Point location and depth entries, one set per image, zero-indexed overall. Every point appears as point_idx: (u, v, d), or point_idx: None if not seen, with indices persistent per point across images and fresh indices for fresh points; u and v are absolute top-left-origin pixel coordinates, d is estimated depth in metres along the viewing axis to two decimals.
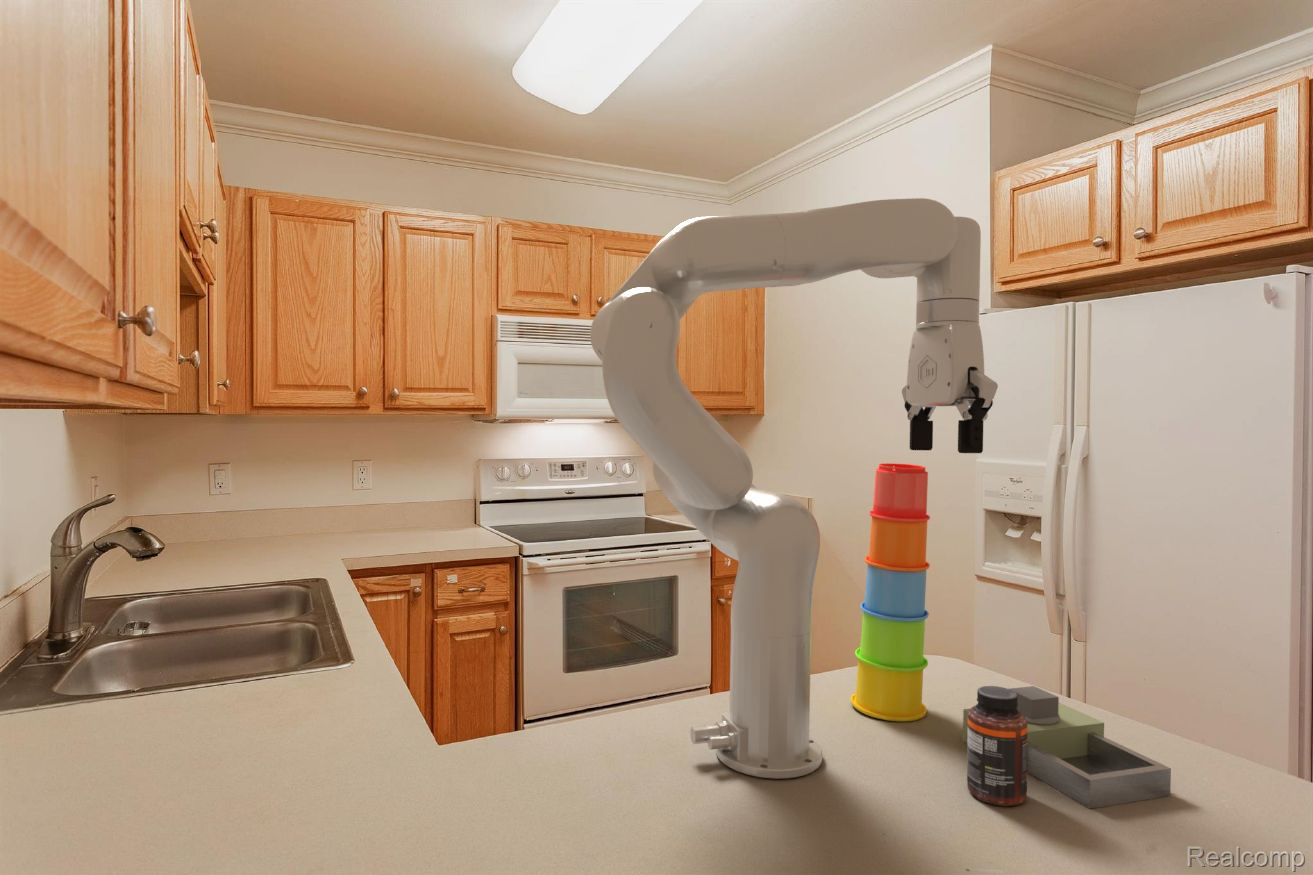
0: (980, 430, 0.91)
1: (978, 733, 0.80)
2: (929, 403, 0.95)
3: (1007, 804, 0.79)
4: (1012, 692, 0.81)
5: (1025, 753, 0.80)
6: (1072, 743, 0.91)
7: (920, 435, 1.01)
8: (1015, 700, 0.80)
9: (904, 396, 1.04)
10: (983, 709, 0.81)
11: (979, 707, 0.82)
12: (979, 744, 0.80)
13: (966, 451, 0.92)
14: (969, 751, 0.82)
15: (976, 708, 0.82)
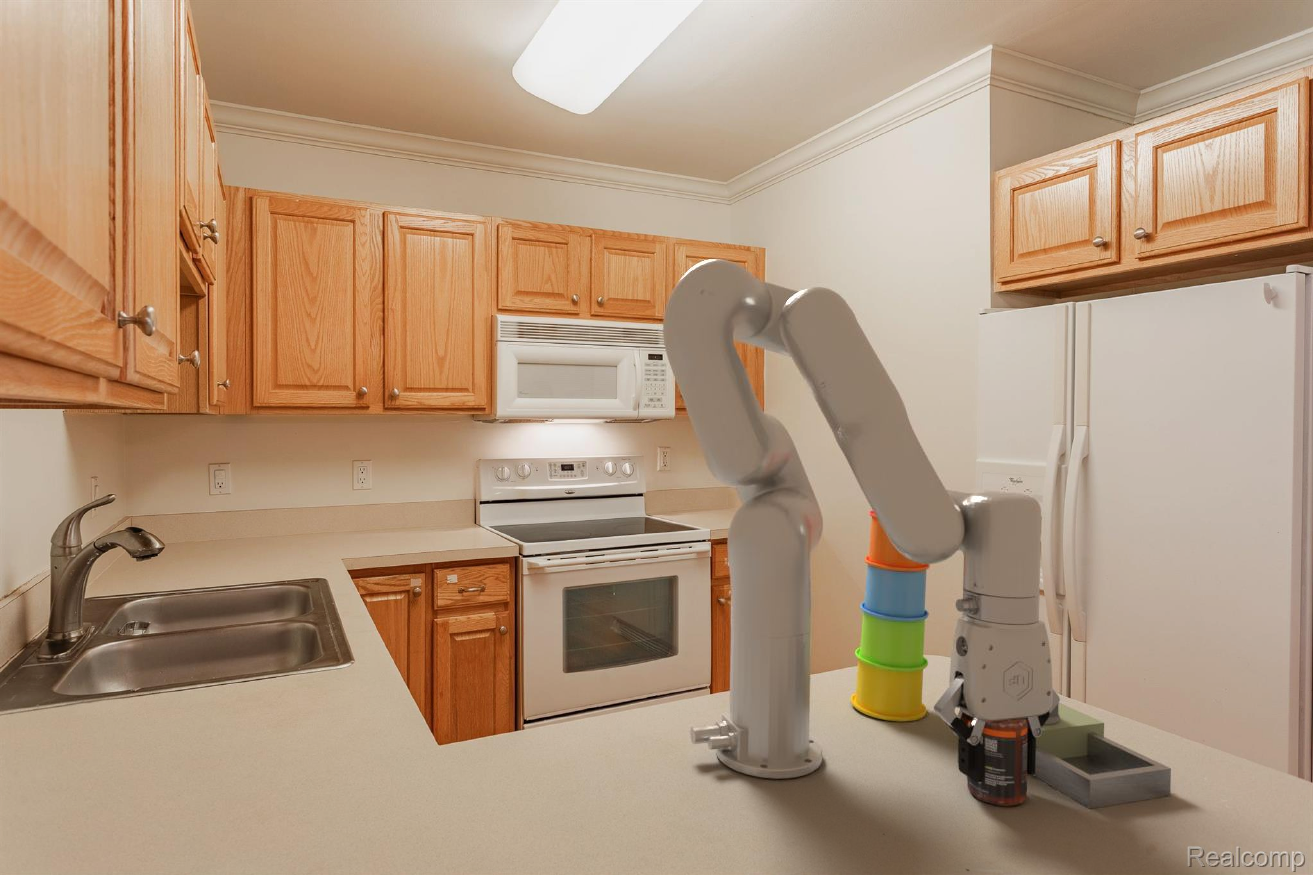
0: None
1: None
2: (1019, 717, 0.79)
3: (1007, 804, 0.79)
4: None
5: (1025, 753, 0.80)
6: (1072, 743, 0.91)
7: None
8: None
9: (947, 717, 0.79)
10: None
11: None
12: None
13: None
14: None
15: None
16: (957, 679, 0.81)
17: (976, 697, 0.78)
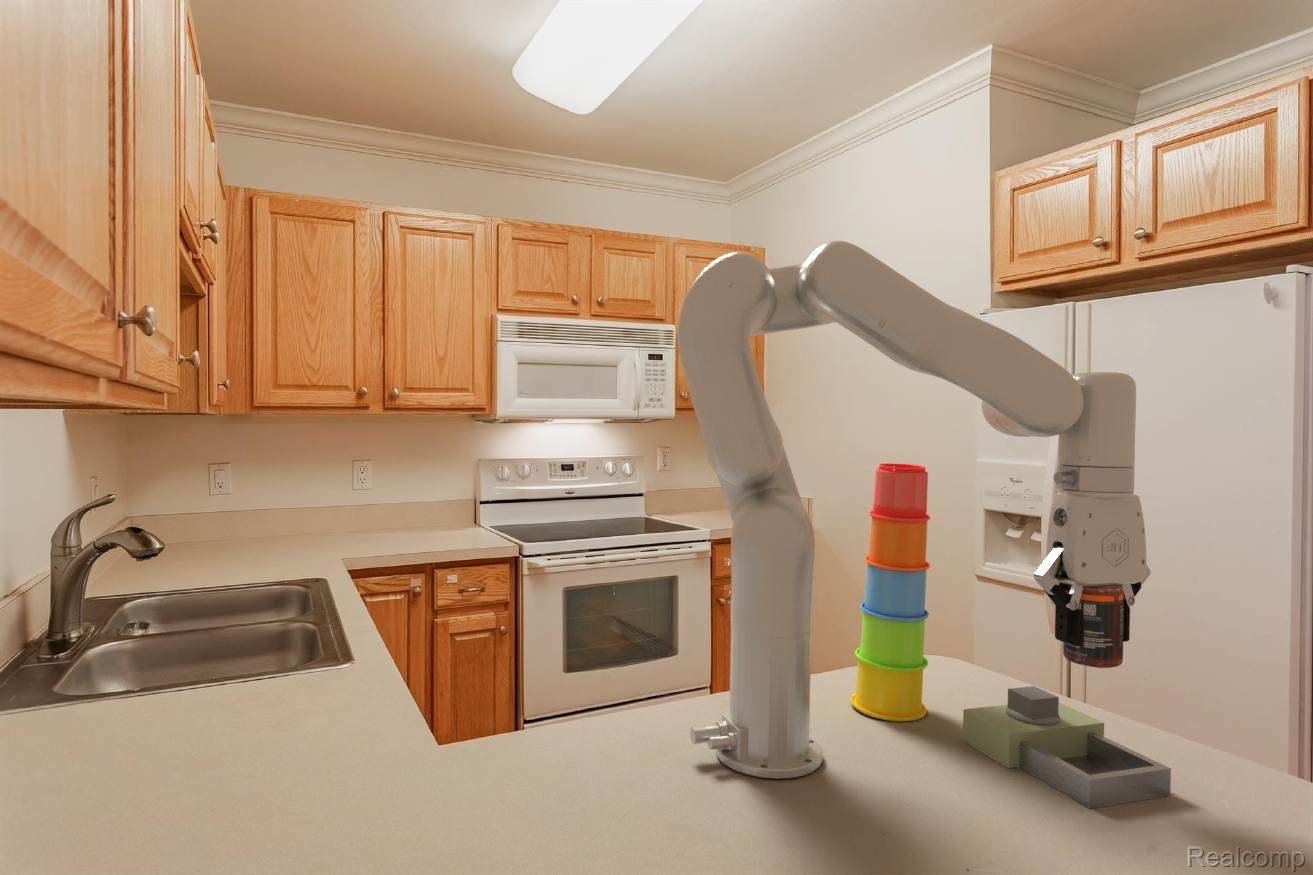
0: None
1: None
2: (1116, 583, 0.83)
3: (1106, 665, 0.83)
4: None
5: (1122, 618, 0.84)
6: (1072, 743, 0.91)
7: None
8: None
9: (1048, 583, 0.83)
10: None
11: None
12: None
13: None
14: None
15: None
16: (1055, 549, 0.84)
17: (1076, 562, 0.82)
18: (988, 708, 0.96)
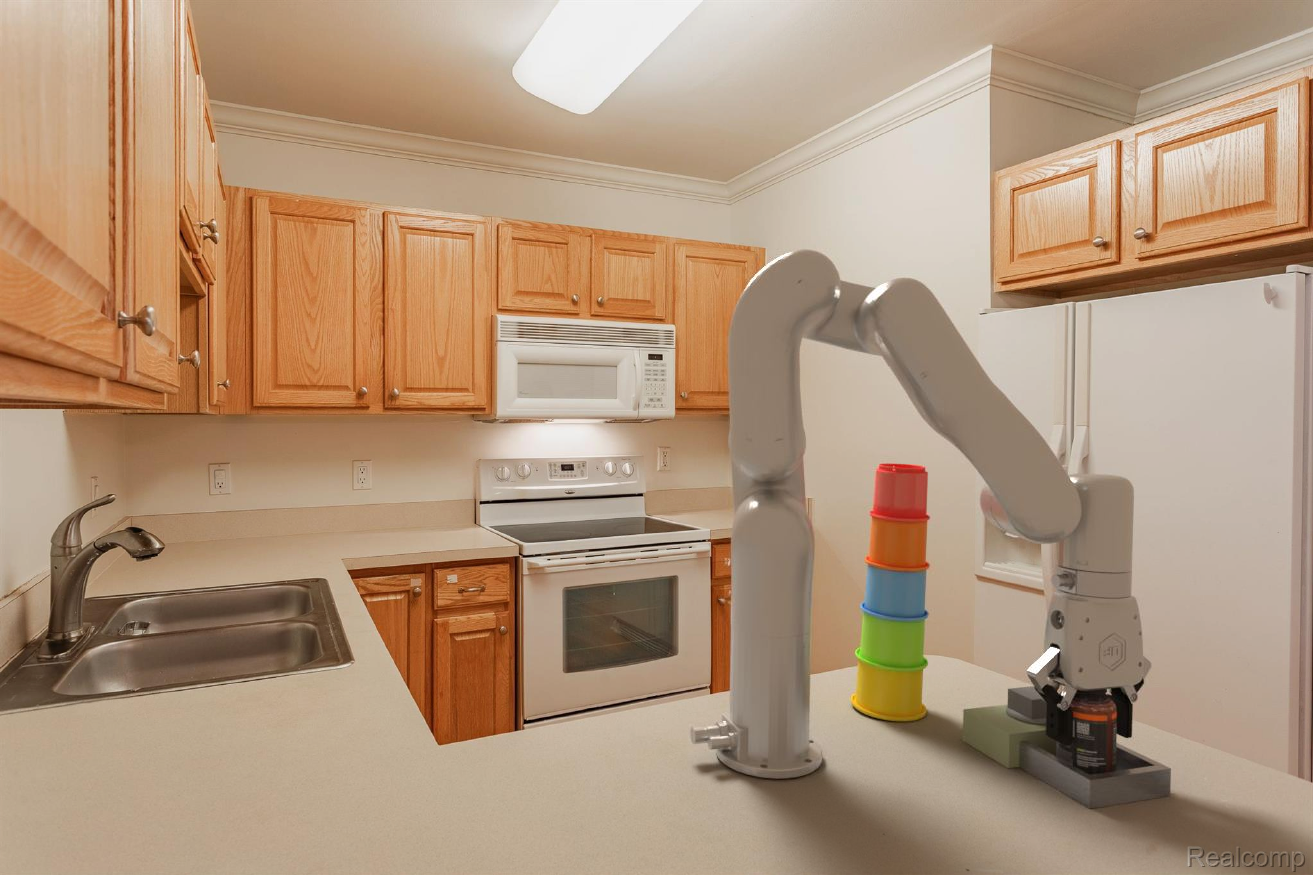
0: None
1: None
2: (1113, 687, 0.83)
3: None
4: None
5: (1115, 736, 0.84)
6: None
7: None
8: None
9: (1040, 681, 0.83)
10: None
11: None
12: None
13: None
14: None
15: None
16: (1052, 648, 0.85)
17: (1073, 667, 0.82)
18: (988, 708, 0.96)
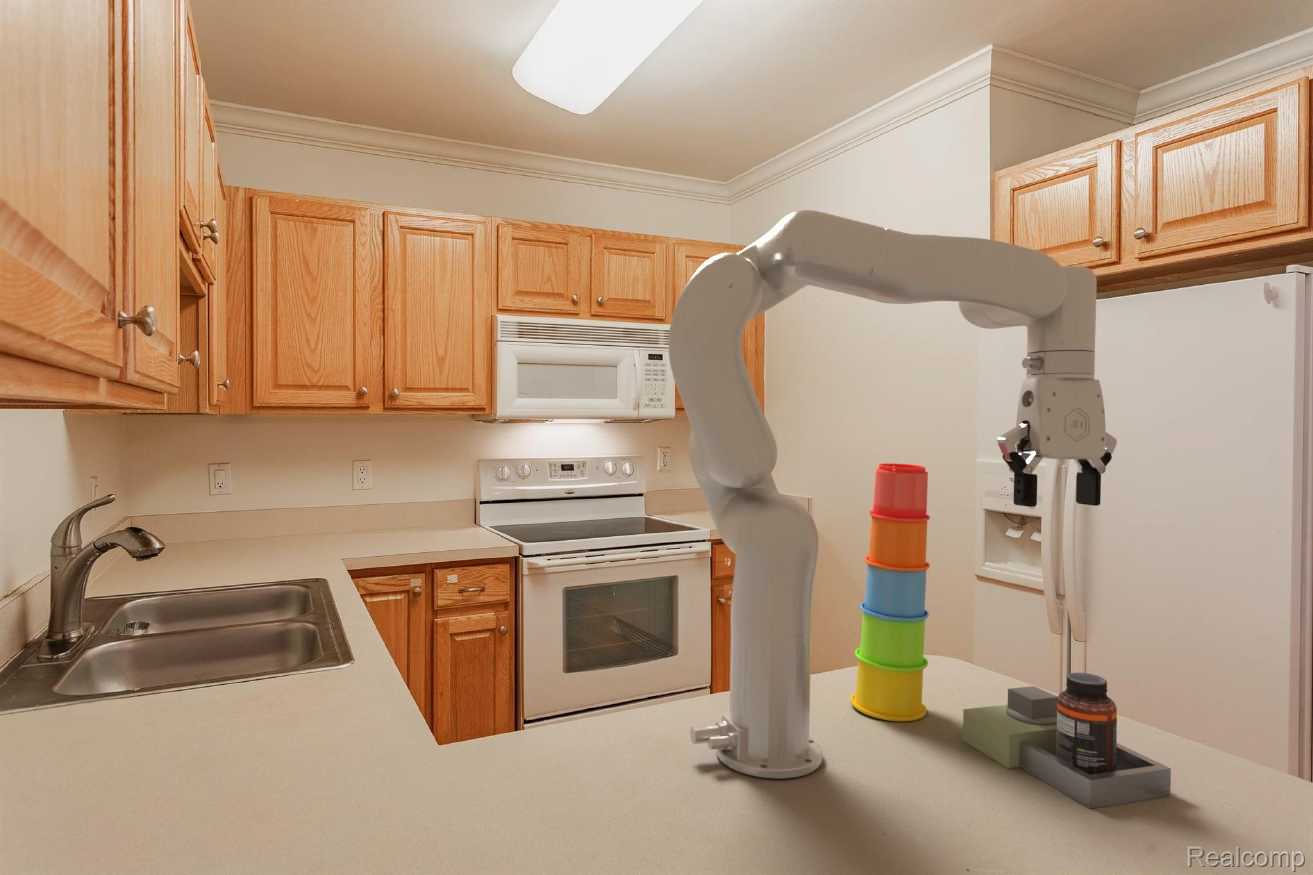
0: None
1: (1070, 717, 0.84)
2: (1077, 457, 0.92)
3: None
4: (1101, 678, 0.85)
5: (1115, 736, 0.84)
6: None
7: None
8: (1105, 686, 0.84)
9: (1008, 446, 0.92)
10: (1074, 695, 0.85)
11: (1069, 692, 0.86)
12: (1071, 728, 0.84)
13: None
14: (1060, 734, 0.86)
15: (1066, 693, 0.86)
16: (1022, 423, 0.93)
17: (1041, 436, 0.91)
18: (988, 708, 0.96)
